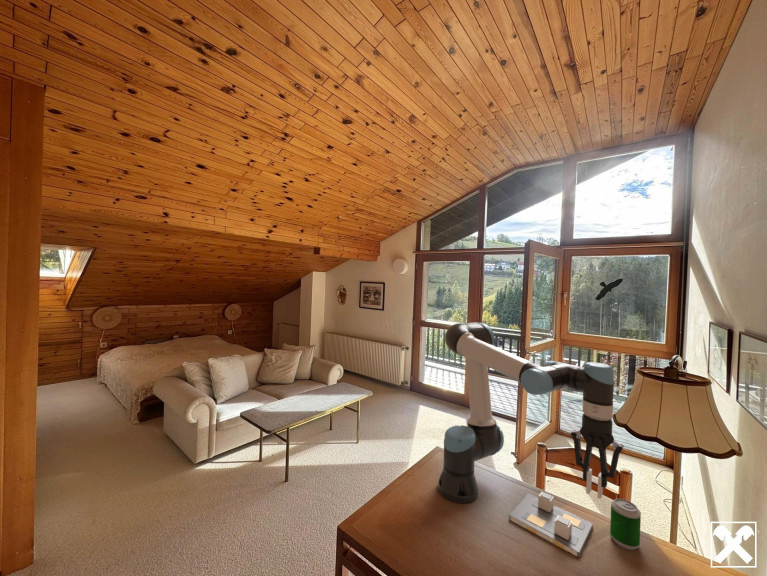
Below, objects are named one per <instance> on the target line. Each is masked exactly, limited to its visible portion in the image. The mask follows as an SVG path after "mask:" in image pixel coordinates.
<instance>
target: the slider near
mask: <svg viewBox="0 0 767 576" xmlns="http://www.w3.org/2000/svg"><path fill="white" fill-rule="evenodd" d="M554 533H555V534H557V535H559V536H561V537H563V538H565V539H567V540H569V538H570V536H571V534H572V522H571V521H570V520H568V519H566V518H563V517H561V516H559V515H558V516H557V518H556V519H555V525H554Z"/></svg>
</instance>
